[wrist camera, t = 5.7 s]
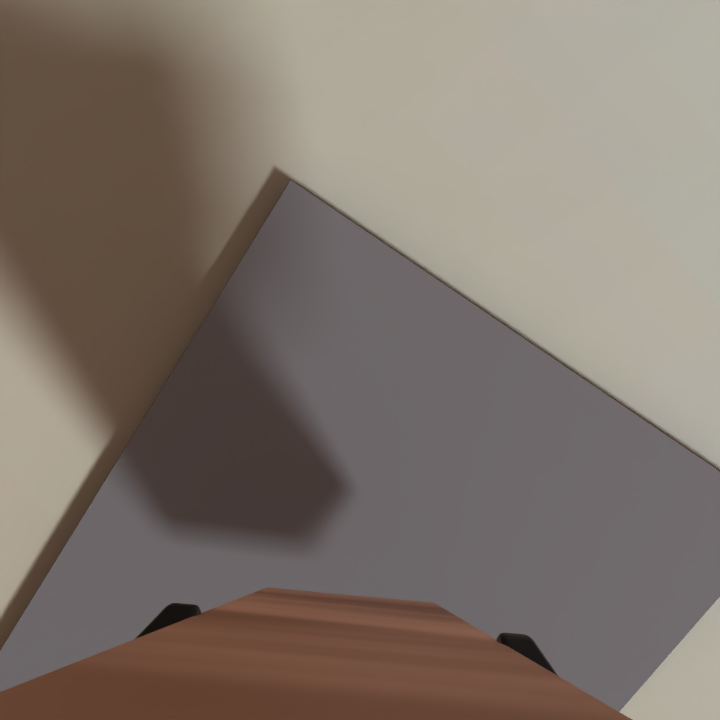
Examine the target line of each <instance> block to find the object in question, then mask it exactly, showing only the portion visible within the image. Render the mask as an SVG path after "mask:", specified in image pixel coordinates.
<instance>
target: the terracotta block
mask: <svg viewBox="0 0 720 720" xmlns="http://www.w3.org/2000/svg"><path fill="white" fill-rule="evenodd" d="M0 720H632V719H630V718H628V717H626V716H625V715H623V714H621V713H620V712H618V711H616V710H615V709H613V708H611V707H610V706H608V705H606V704H604V703H603V702H601V701H599V700H598V699H596V698H594V697H593V696H591V695H589V694H588V693H586V692H584V691H582V690H581V689H579V688H577V687H576V686H574V685H572V684H571V683H569V682H567V681H566V680H564V679H562V678H560V677H559V676H557V675H555V674H554V673H552V672H550V671H549V670H547V669H545V668H544V667H542V666H540V665H538V664H537V663H535V662H533V661H532V660H530V659H528V658H527V657H525V656H523V655H522V654H520V653H518V652H516V651H515V650H513V649H511V648H510V647H508V646H506V645H504V644H501V643H499V642H498V641H496V639H494V638H493V637H491V636H489V635H488V634H486V633H484V632H483V631H481V630H479V629H477V628H476V627H474V626H472V625H471V624H469V623H467V622H466V621H464V620H462V619H461V618H459V617H457V616H455V615H454V614H452V613H450V612H449V611H447V610H445V609H444V608H442V607H440V606H439V605H437V604H435V603H433V602H422V601H411V600H400V599H389V598H378V597H367V596H356V595H345V594H334V593H323V592H312V591H301V590H290V589H279V588H268V587H266V588H264V589H261V590H259V591H256V592H254V593H251V594H249V595H246V596H243V597H241V598H238V599H236V600H233V601H231V602H228V603H226V604H223V605H220V606H218V607H215V608H213V609H210V610H208V611H205V612H203V613H201V614H199V615H197V616H192V617H190V618H187V619H185V620H182V621H180V622H177V623H175V624H172V625H169V626H167V627H164V628H162V629H159V630H157V631H154V632H152V633H149V634H147V635H144V636H141V637H139V638H136V639H134V640H131V641H129V642H126V643H124V644H121V645H118V646H116V647H113V648H111V649H108V650H106V651H103V652H101V653H98V654H96V655H93V656H90V657H88V658H85V659H83V660H80V661H78V662H75V663H73V664H70V665H67V666H65V667H62V668H60V669H57V670H55V671H52V672H50V673H47V674H45V675H42V676H39V677H37V678H34V679H32V680H29V681H27V682H24V683H22V684H19V685H16V686H14V687H11V688H9V689H6V690H4V691H1V692H0Z"/></svg>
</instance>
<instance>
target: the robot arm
mask: <svg viewBox="0 0 720 720" xmlns="http://www.w3.org/2000/svg"><path fill="white" fill-rule="evenodd" d="M199 614H201V610H200V608H199V606H197V605H193V604H182V603H171V604H169V605H167V606H166V607H165V608H164V609H163V610H162V611H161V612H160V613H159V614H158V615H157V616H156V617H155V618H154V619H153V620H152V621H151V622H150V623H149V624H148V626H147V627H146V628H145V629H144V630H143V631H142V632H141V633H140V634H139V635H138V636H137V637H136V638H139V637H141V636H144V635H147V634H149V633H152V632H154V631H157V630H159V629H162V628H164V627H167V626H169V625H172V624H175V623H177V622H180V621H182V620H185V619H187V618H190V617H192V616H197V615H199ZM136 638H135V639H136ZM496 641H498V642H499V643H501V644H504V645H506V646H508V647H510V648H511V649H513V650H515V651H516V652H518V653H520V654H522V655H523V656H525V657H527V658H528V659H530V660H532V661H533V662H535V663H537V664H538V665H540V666H542V667H544V668H545V669H547V670H549V671H550V672H552V673H554V674H555V675H557V673H556V672H555V670H554V669H553V668H552V666H551V665H550V663H549V662H548V660H547V659H546V658H545V656H544V655H543V653H542V652H541V650H540V649H539V648H538V646H537V645H536V643H535V642H534V640H533V639H532V638H531V637H529V636H528V635H525V634H516V633H505V632H504V633H500V634H499V635H498V637H497V639H496ZM557 676H558V675H557Z"/></svg>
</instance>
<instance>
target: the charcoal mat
mask: <svg viewBox="0 0 720 720" xmlns="http://www.w3.org/2000/svg"><path fill="white" fill-rule="evenodd" d="M266 587H268V588H279V589H290V590H301V591H312V592H323V593H334V594H345V595H356V596H367V597H378V598H389V599H400V600H411V601H422V602H433V603H435V604H437V605H439V606H440V607H442V608H444V609H445V610H447V611H449V612H450V613H452V614H454V615H455V616H457V617H459V618H461V619H462V620H464V621H466V622H467V623H469V624H471V625H472V626H474V627H476V628H477V629H479V630H481V631H483V632H484V633H486V634H488V635H489V636H491V637H493V638H494V639H497V637H498V635H499V634H500V633H504V632H505V633H516V634H525V635H528V636H529V637H531V638H532V639H533V640H534V642H535V643H536V645H537V646H538V648H539V649H540V650H541V652H542V653H543V655H544V656H545V658H546V659H547V660H548V662H549V663H550V665H551V666H552V668H553V669H554V670H555V672H556V673H557V675H558V676H559V677H560V678H562V679H564V680H566V681H567V682H569V683H571V684H572V685H574V686H576V687H577V688H579V689H581V690H582V691H584V692H586V693H588V694H589V695H591V696H593V697H594V698H596V699H598V700H599V701H601V702H603V703H604V704H606V705H608V706H610V707H611V708H613V709H615V710H616V711H618V712H619V711H620V710H621V709H622V708H623V707H624V706H625V704H626V703H627V702H628V701H629V700H630V699H631V698H632V696H633V695H634V694H635V693H636V692H637V691H638V690H639V688H640V687H641V686H642V685H643V684H644V683H645V682H646V680H647V679H648V678H649V677H650V676H651V675H652V674H653V672H654V671H655V670H656V669H657V668H658V667H659V666H660V664H661V663H662V662H663V661H664V660H665V659H666V657H667V656H668V655H669V654H670V653H671V652H672V651H673V649H674V648H675V647H676V646H677V645H678V644H679V643H680V641H681V640H682V639H683V638H684V637H685V636H686V635H687V633H688V632H689V631H690V630H691V629H692V628H693V627H694V625H695V624H696V623H697V622H698V621H699V620H700V619H701V617H702V616H703V615H704V614H705V613H706V612H707V611H708V609H709V608H710V607H711V606H712V605H713V604H714V602H715V601H716V600H717V599H718V598H719V597H720V471H718V470H717V469H715V468H714V467H713V466H711V465H710V464H708V463H707V462H705V461H704V460H702V459H701V458H699V457H698V456H696V455H695V454H693V453H692V452H690V451H689V450H687V449H686V448H685V447H683V446H682V445H680V444H679V443H677V442H676V441H674V440H673V439H671V438H670V437H668V436H667V435H665V434H664V433H662V432H661V431H660V430H658V429H657V428H655V427H654V426H652V425H651V424H649V423H648V422H646V421H645V420H643V419H642V418H640V417H639V416H637V415H636V414H634V413H633V412H632V411H630V410H629V409H627V408H626V407H624V406H623V405H621V404H620V403H618V402H617V401H615V400H614V399H612V398H611V397H609V396H608V395H607V394H605V393H604V392H602V391H601V390H599V389H598V388H596V387H595V386H593V385H592V384H590V383H589V382H587V381H586V380H584V379H583V378H581V377H580V376H579V375H577V374H576V373H574V372H573V371H571V370H570V369H568V368H567V367H565V366H564V365H562V364H561V363H559V362H558V361H556V360H555V359H554V358H552V357H551V356H549V355H548V354H546V353H545V352H543V351H542V350H540V349H539V348H537V347H536V346H534V345H533V344H531V343H530V342H528V341H527V340H526V339H524V338H523V337H521V336H520V335H518V334H517V333H515V332H514V331H512V330H511V329H509V328H508V327H506V326H505V325H503V324H502V323H501V322H499V321H498V320H496V319H495V318H493V317H492V316H490V315H489V314H487V313H486V312H484V311H483V310H481V309H480V308H478V307H477V306H475V305H474V304H473V303H471V302H470V301H468V300H467V299H465V298H464V297H462V296H461V295H459V294H458V293H456V292H455V291H453V290H452V289H450V288H449V287H447V286H446V285H445V284H443V283H442V282H440V281H439V280H437V279H436V278H434V277H433V276H431V275H430V274H428V273H427V272H425V271H424V270H422V269H421V268H420V267H418V266H417V265H415V264H414V263H412V262H411V261H409V260H408V259H406V258H405V257H403V256H402V255H400V254H399V253H397V252H396V251H394V250H393V249H392V248H390V247H389V246H387V245H386V244H384V243H383V242H381V241H380V240H378V239H377V238H375V237H374V236H372V235H371V234H369V233H368V232H367V231H365V230H364V229H362V228H361V227H359V226H358V225H356V224H355V223H353V222H352V221H350V220H349V219H347V218H346V217H344V216H343V215H341V214H340V213H339V212H337V211H336V210H334V209H333V208H331V207H330V206H328V205H327V204H325V203H324V202H322V201H321V200H319V199H318V198H316V197H315V196H314V195H312V194H311V193H309V192H308V191H306V190H305V189H303V188H302V187H300V186H299V185H297V184H296V183H294V182H293V181H290V182H289V184H288V185H287V187H286V189H285V190H284V192H283V194H282V195H281V197H280V198H279V200H278V202H277V203H276V205H275V207H274V208H273V210H272V211H271V213H270V215H269V216H268V218H267V219H266V221H265V223H264V224H263V226H262V228H261V229H260V231H259V232H258V234H257V236H256V237H255V239H254V241H253V242H252V244H251V245H250V247H249V249H248V250H247V252H246V254H245V255H244V257H243V258H242V260H241V262H240V263H239V265H238V266H237V268H236V270H235V271H234V273H233V275H232V276H231V278H230V279H229V281H228V283H227V284H226V286H225V288H224V289H223V291H222V292H221V294H220V296H219V297H218V299H217V300H216V302H215V304H214V305H213V307H212V309H211V310H210V312H209V313H208V315H207V317H206V318H205V320H204V322H203V323H202V325H201V326H200V328H199V330H198V331H197V333H196V334H195V336H194V338H193V339H192V341H191V343H190V344H189V346H188V347H187V349H186V351H185V352H184V354H183V356H182V357H181V359H180V360H179V362H178V364H177V365H176V367H175V368H174V370H173V372H172V373H171V375H170V377H169V378H168V380H167V381H166V383H165V385H164V386H163V388H162V390H161V391H160V393H159V394H158V396H157V398H156V399H155V401H154V402H153V404H152V406H151V407H150V409H149V411H148V412H147V414H146V415H145V417H144V419H143V420H142V422H141V424H140V425H139V427H138V428H137V430H136V432H135V433H134V435H133V436H132V438H131V440H130V441H129V443H128V445H127V446H126V448H125V449H124V451H123V453H122V454H121V456H120V458H119V459H118V461H117V462H116V464H115V466H114V467H113V469H112V470H111V472H110V474H109V475H108V477H107V479H106V480H105V482H104V483H103V485H102V487H101V488H100V490H99V492H98V493H97V495H96V496H95V498H94V500H93V501H92V503H91V504H90V506H89V508H88V509H87V511H86V513H85V514H84V516H83V517H82V519H81V521H80V522H79V524H78V526H77V527H76V529H75V530H74V532H73V534H72V535H71V537H70V539H69V540H68V542H67V543H66V545H65V547H64V548H63V550H62V551H61V553H60V555H59V556H58V558H57V560H56V561H55V563H54V564H53V566H52V568H51V569H50V571H49V573H48V574H47V576H46V577H45V579H44V581H43V582H42V584H41V585H40V587H39V589H38V590H37V592H36V594H35V595H34V597H33V598H32V600H31V602H30V603H29V605H28V607H27V608H26V610H25V611H24V613H23V615H22V616H21V618H20V619H19V621H18V623H17V624H16V626H15V628H14V629H13V631H12V632H11V634H10V636H9V637H8V639H7V641H6V642H5V644H4V645H3V647H2V649H1V650H0V692H1V691H4V690H6V689H9V688H11V687H14V686H16V685H19V684H22V683H24V682H27V681H29V680H32V679H34V678H37V677H39V676H42V675H45V674H47V673H50V672H52V671H55V670H57V669H60V668H62V667H65V666H67V665H70V664H73V663H75V662H78V661H80V660H83V659H85V658H88V657H90V656H93V655H96V654H98V653H101V652H103V651H106V650H108V649H111V648H113V647H116V646H118V645H121V644H124V643H126V642H129V641H131V640H134V639H135V638H136V637H137V636H138V635H139V634H140V633H141V632H142V631H143V630H144V629H145V628H146V627H147V626H148V624H149V623H150V622H151V621H152V620H153V619H154V618H155V617H156V616H157V615H158V614H159V613H160V612H161V611H162V610H163V609H164V608H165V607H166V606H167V605H169V604H171V603H182V604H193V605H197V606H199V608H200V610H201V613H203V612H205V611H208V610H210V609H213V608H215V607H218V606H220V605H223V604H226V603H228V602H231V601H233V600H236V599H238V598H241V597H243V596H246V595H249V594H251V593H254V592H256V591H259V590H261V589H264V588H266Z"/></svg>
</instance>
